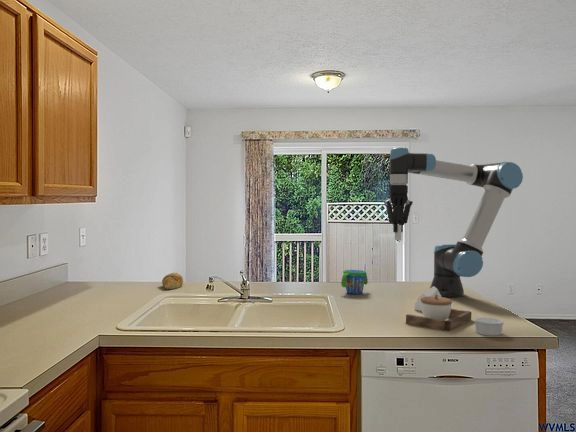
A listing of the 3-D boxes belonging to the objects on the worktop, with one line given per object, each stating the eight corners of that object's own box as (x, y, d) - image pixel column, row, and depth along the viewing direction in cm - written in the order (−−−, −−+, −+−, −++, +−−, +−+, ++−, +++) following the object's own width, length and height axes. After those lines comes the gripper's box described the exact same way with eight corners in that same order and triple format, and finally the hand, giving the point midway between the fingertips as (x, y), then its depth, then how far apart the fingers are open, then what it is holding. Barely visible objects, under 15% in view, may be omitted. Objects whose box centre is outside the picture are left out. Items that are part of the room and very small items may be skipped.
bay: (405, 323, 176) (406, 314, 176) (430, 313, 192) (430, 305, 192) (448, 331, 166) (449, 322, 166) (471, 319, 183) (471, 311, 183)
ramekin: (470, 329, 170) (470, 316, 170) (496, 329, 169) (497, 317, 169) (479, 336, 161) (479, 323, 161) (507, 337, 161) (508, 323, 160)
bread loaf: (173, 298, 233) (181, 283, 233) (154, 287, 233) (162, 272, 233) (183, 289, 254) (190, 275, 254) (165, 279, 254) (172, 265, 254)
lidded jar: (446, 325, 174) (447, 298, 173) (416, 321, 179) (416, 295, 179) (454, 319, 183) (455, 294, 182) (425, 315, 188) (426, 291, 188)
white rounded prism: (421, 291, 219) (408, 300, 197) (436, 284, 216) (424, 293, 194) (429, 306, 217) (417, 318, 196) (444, 300, 214) (433, 310, 193)
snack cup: (359, 289, 242) (359, 268, 241) (374, 293, 233) (375, 271, 233) (334, 292, 233) (334, 270, 233) (349, 296, 224) (349, 273, 224)
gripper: (406, 185, 218) (405, 239, 219) (380, 184, 214) (379, 239, 215) (416, 184, 211) (416, 240, 212) (390, 184, 207) (389, 241, 208)
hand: (397, 240), depth 213 cm, fingers closed
